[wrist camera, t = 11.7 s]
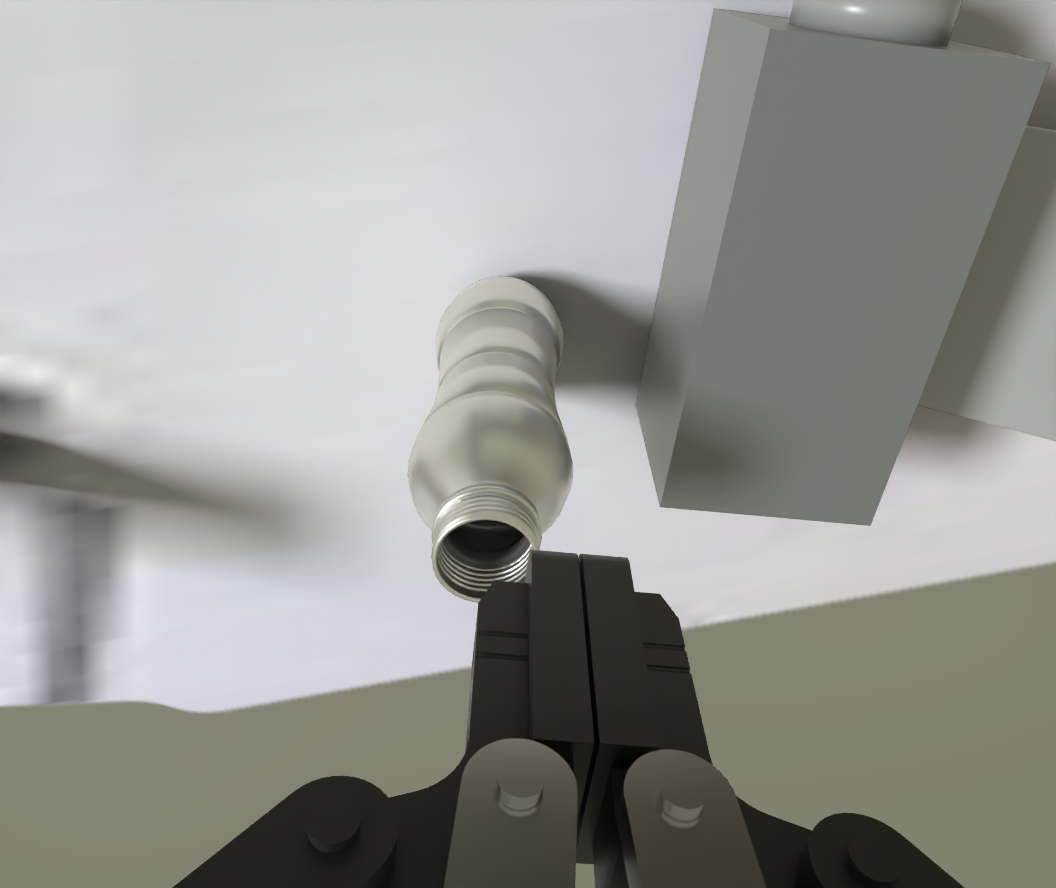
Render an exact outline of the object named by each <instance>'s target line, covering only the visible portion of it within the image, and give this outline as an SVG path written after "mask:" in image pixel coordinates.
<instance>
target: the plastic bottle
mask: <svg viewBox="0 0 1056 888" xmlns="http://www.w3.org/2000/svg"><path fill="white" fill-rule="evenodd" d="M563 346H564V339H563V330H562V326H561V322H560V320H559V318H558V316H557V314H556V312H555V310H554V308H553V306H552V304H551V303H550V301H549V300H548V299H547V297H546V296H545V295H544V294H543V293H542V292H541V291H540V290H539V289H537V288H536V287H535V286H533V285H531V284H529V283H528V282H526V281H523V280H520V279H517V278H513V277H504V276H499V277H490V278H486V279H483V280H479V281H477V282H475V283H473V284H471V285H469V286H468V287H466V288H465V289H464V290H463V291H461V292H460V293H459V294H458V295H457V296H456V298H455V299H454V300H453V301H452V302H451V304H450V305H449V306H448V308H447V309H446V311H445V313H444V315H443V316H442V318H441V320H440V323H439V326H438V330H437V335H436V355H437V364H438V369H439V388H438V391H437V395H436V398H435V401H434V404H433V407H432V409H431V410H430V412H429V414H428V416H427V418H426V420H425V422H424V424H423V426H422V428H421V430H420V432H419V433H418V435H417V438H416V441H415V444H414V446H413V449H412V452H411V455H410V459H409V465H408V480H409V487H410V491H411V495H412V498H413V501H414V504H415V507H416V509H417V512H418V514H419V515H420V517H421V518H422V520H423V521H424V523H425V524H426V525H427V526H428V527H429V528H430V529H431V530H432V542H433V547H432V564H433V570H434V572H435V575H436V577H437V579H438V580H439V581H440V583H441V584H442V585H443V586H444V587H445V588H446V589H447V590H448V591H449V592H451V593H452V594H454V595H455V596H458V597H460V598H462V599H464V600H468V601H472V602H479V601H480V600H481V598H482V597H483V596H484V594H485V593H486V591H487V590H488V588H489V587H490V586H491V584H492V583H493V581H494V580H495V581H507V582H519V583H525V579H526V571H527V564H528V558H529V553H530V550H539V548H540V544H541V539H542V534H543V533H544V532H545V531H546V530H547V529H548V528H550V527H551V526H552V524H553V523H554V522H555V520H556V519H557V517H558V516H559V515H560V512H561V510H562V508H563V505H564V503H565V501H566V499H567V496H568V494H569V492H570V488H571V483H572V478H573V465H572V459H571V453H570V449H569V445H568V441H567V437H566V436H565V432H564V430H563V427H562V424H561V421H560V418H559V416H558V413H557V407H556V401H555V395H554V387H555V378H556V375H557V372H558V370H559V367H560V362H561V358H562V352H563Z"/></svg>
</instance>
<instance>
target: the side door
mask: <svg viewBox="0 0 1056 888" xmlns="http://www.w3.org/2000/svg"><path fill="white" fill-rule="evenodd" d="M918 405H919V406H923V407H926V408H930V409H934V410H938V411H942V412H946V413H949V414H953V415H957V416H961V417H965V418H969V419H973V420H976V421H980V422H984V423H988V424H992V425H996V426H999V427H1003V428H1007V429H1011V430H1015V431H1019V432H1022V433H1026V434H1030V435H1034V436H1038V437H1042V438H1046V439H1049V440H1053V441H1056V130H1053V129H1047V128H1040V127H1034V126H1028V125H1026V128H1025V130H1024V133H1023V136H1022V138H1021V141H1020V143H1019V146H1018V148H1017V151H1016V154H1015V156H1014V159H1013V161H1012V164H1011V166H1010V169H1009V171H1008V174H1007V177H1006V179H1005V182H1004V184H1003V187H1002V189H1001V192H1000V195H999V197H998V200H997V202H996V205H995V207H994V210H993V212H992V215H991V218H990V220H989V223H988V225H987V228H986V230H985V233H984V236H983V238H982V241H981V243H980V246H979V248H978V251H977V254H976V256H975V259H974V261H973V264H972V266H971V269H970V271H969V274H968V277H967V279H966V282H965V284H964V287H963V289H962V292H961V295H960V297H959V300H958V302H957V305H956V307H955V310H954V312H953V315H952V318H951V320H950V323H949V325H948V328H947V330H946V333H945V336H944V338H943V341H942V343H941V346H940V348H939V351H938V354H937V356H936V359H935V361H934V364H933V366H932V369H931V371H930V374H929V377H928V379H927V382H926V384H925V387H924V389H923V392H922V395H921V397H920V400H919V402H918Z"/></svg>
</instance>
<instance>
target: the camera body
mask: <svg viewBox="0 0 1056 888" xmlns="http://www.w3.org/2000/svg"><path fill="white" fill-rule="evenodd" d="M961 3H962V0H794V4H793V8H792V12H791V16H790V18H785V17H777V16H769V15H761V14H753V13H745V12H737V11H729V10H721V9H714V11H713V16H712V21H711V26H710V31H709V36H708V41H707V46H706V52H705V57H704V62H703V67H702V72H701V77H700V82H699V87H698V92H697V97H696V102H695V107H694V112H693V117H692V122H691V127H690V133H689V138H688V143H687V148H686V153H685V158H684V163H683V168H682V173H681V178H680V183H679V188H678V193H677V198H676V203H675V209H674V214H673V219H672V224H671V229H670V234H669V239H668V244H667V249H666V254H665V259H664V264H663V269H662V274H661V279H660V284H659V290H658V295H657V300H656V305H655V310H654V315H653V320H652V325H651V330H650V335H649V340H648V345H647V350H646V355H645V360H644V366H643V371H642V376H641V381H640V386H639V391H638V396H637V401H636V408H637V412H638V417H639V421H640V425H641V429H642V433H643V438H644V442H645V446H646V450H647V454H648V459H649V463H650V467H651V471H652V475H653V480H654V484H655V488H656V492H657V496H658V501H659V505H660V507H666V508H677V509H688V510H700V511H711V512H722V513H733V514H744V515H756V516H767V517H778V518H789V519H800V520H812V521H823V522H834V523H845V524H856V525H868V526H870V525H871V523H872V520H873V518H874V515H875V512H876V510H877V507H878V505H879V502H880V500H881V497H882V495H883V492H884V489H885V487H886V484H887V482H888V479H889V477H890V474H891V471H892V469H893V466H894V464H895V461H896V459H897V456H898V454H899V451H900V448H901V446H902V443H903V441H904V438H905V436H906V433H907V430H908V428H909V425H910V423H911V420H912V418H913V415H914V412H915V410H916V407H917V405H918V402H919V400H920V397H921V395H922V392H923V389H924V387H925V384H926V382H927V379H928V377H929V374H930V371H931V369H932V366H933V364H934V361H935V359H936V356H937V354H938V351H939V348H940V346H941V343H942V341H943V338H944V336H945V333H946V330H947V328H948V325H949V323H950V320H951V318H952V315H953V312H954V310H955V307H956V305H957V302H958V300H959V297H960V295H961V292H962V289H963V287H964V284H965V282H966V279H967V277H968V274H969V271H970V269H971V266H972V264H973V261H974V259H975V256H976V254H977V251H978V248H979V246H980V243H981V241H982V238H983V236H984V233H985V230H986V228H987V225H988V223H989V220H990V218H991V215H992V212H993V210H994V207H995V205H996V202H997V200H998V197H999V195H1000V192H1001V189H1002V187H1003V184H1004V182H1005V179H1006V177H1007V174H1008V171H1009V169H1010V166H1011V164H1012V161H1013V159H1014V156H1015V154H1016V151H1017V148H1018V146H1019V143H1020V141H1021V138H1022V136H1023V133H1024V130H1025V128H1026V125H1027V123H1028V120H1029V118H1030V115H1031V112H1032V110H1033V107H1034V105H1035V102H1036V100H1037V97H1038V95H1039V92H1040V89H1041V87H1042V84H1043V82H1044V79H1045V77H1046V74H1047V71H1048V69H1049V66H1050V64H1051V63H1048V62H1044V61H1040V60H1035V59H1031V58H1027V57H1022V56H1018V55H1014V54H1009V53H1005V52H1001V51H996V50H992V49H987V48H983V47H979V46H974V45H970V44H966V43H961V42H957V41H953V40H950V37H951V34H952V31H953V28H954V25H955V22H956V19H957V16H958V12H959V9H960V6H961Z"/></svg>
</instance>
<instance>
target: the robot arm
mask: <svg viewBox="0 0 1056 888" xmlns="http://www.w3.org/2000/svg"><path fill="white" fill-rule="evenodd" d="M684 648H685V645H684V640H683V636H682V631H681V627H680V622H679V618H678V617H677V616H676V615H675V613H674V612H673V611H672V609H671V608H670V607H669V605H668V604H667V603H666V601H665V600H664V599H663V598H662V596H661V595H660V594H653V593H641V592H634V587H633V581H632V575H631V569H630V563H629V560H628V558H624V557H612V556H600V555H588V554H580V555H579V558H578V555H577V554H574V553H563V552H551V551H539V550H530V553H529V558H528V564H527V571H526V579H525V583H519V582H507V581H495V580H494V581H493V583H492V584H491V586H490V587H489V588H488V590H487V591H486V593H485V594H484V596H483V597H482V598H481V600H480V601H479V603H478V613H477V622H476V632H475V642H474V651H473V661H472V670H471V683H470V697H469V709H468V722H467V736H466V749H465V755H464V757H463V759H462V760H461V762H460V764H459V765H458V766H457V767H456V768H455V770H454V771H453V772H452V773H451V774H449V775H448V776H447V777H446V778H445V779H443V780H441V781H440V782H438V783H437V784H434V785H433V786H430V787H428V788H425V789H422V790H419V791H416V792H411V793H407V794H403V795H398V796H394V797H390V798H388V797H387V796H386V795H385V794H384V793H383V792H382V791H381V790H380V789H379V788H378V787H376V786H375V785H373V784H372V783H369V782H367V781H365V780H363V779H359V778H355V777H349V776H331V777H326V778H321V779H318V780H315V781H312V782H310V783H308V784H306V785H304V786H302V787H300V788H299V789H297V790H296V791H294V792H293V793H292V794H290V795H289V796H288V797H287V798H285V799H284V800H283V801H281V802H280V803H279V804H278V805H276V806H275V807H274V808H273V809H271V810H270V811H269V812H268V813H266V814H265V815H264V816H262V817H261V818H260V819H259V820H257V821H256V822H255V823H254V824H252V825H251V826H250V827H249V828H247V829H246V830H245V831H243V832H242V833H241V834H240V835H238V836H237V837H236V838H235V839H233V840H232V841H231V842H230V843H228V844H227V845H226V846H225V847H223V848H222V849H221V850H220V851H218V852H217V853H216V854H215V855H213V856H212V857H211V858H209V859H208V860H207V861H206V862H204V863H203V864H202V865H200V866H199V867H198V868H197V869H195V870H194V871H193V872H192V873H190V874H189V875H188V876H187V877H185V878H184V879H183V880H181V881H180V882H179V883H178V884H176V885H175V886H174V887H173V888H575V881H576V863H583V864H594V875H595V887H596V888H964V887H963V886H962V885H961V884H959V883H958V882H957V881H956V880H955V879H953V878H952V877H951V876H950V875H949V874H947V873H946V872H945V871H944V870H943V869H941V868H940V867H939V866H938V865H937V864H935V863H934V862H933V861H932V860H931V859H930V858H928V857H927V856H926V855H925V854H924V853H922V852H921V851H920V850H919V849H918V848H916V847H915V846H914V845H913V844H912V843H911V842H909V841H908V840H907V839H906V838H904V837H903V836H902V835H901V834H899V833H898V832H897V831H895V830H894V829H893V828H891V827H889V826H888V825H886V824H884V823H883V822H880V821H878V820H876V819H874V818H871V817H868V816H864V815H860V814H854V813H839V814H834V815H831V816H828V817H826V818H824V819H823V820H821V821H820V822H819V823H818V824H817V825H816V826H815V827H814V829H813V831H811V830H808V829H806V828H803V827H801V826H798V825H795V824H792V823H790V822H787V821H784V820H781V819H779V818H776V817H773V816H770V815H768V814H766V813H763V812H761V811H759V810H757V809H755V808H753V807H752V806H750V805H748V804H747V803H745V802H744V801H743V800H741V799H740V798H738V797H737V796H736V794H735V792H734V790H733V788H732V786H731V785H730V783H729V781H728V780H727V779H726V778H725V777H724V775H723V774H722V773H721V772H720V771H719V770H718V769H717V768H715V767H714V766H713V764H712V761H711V758H710V755H709V750H708V746H707V741H706V737H705V733H704V728H703V724H702V719H701V715H700V710H699V706H698V702H697V698H696V693H695V688H694V684H693V680H692V676H691V674H690V666H689V663H688V657H687V653H686V651H685V649H684Z"/></svg>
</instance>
